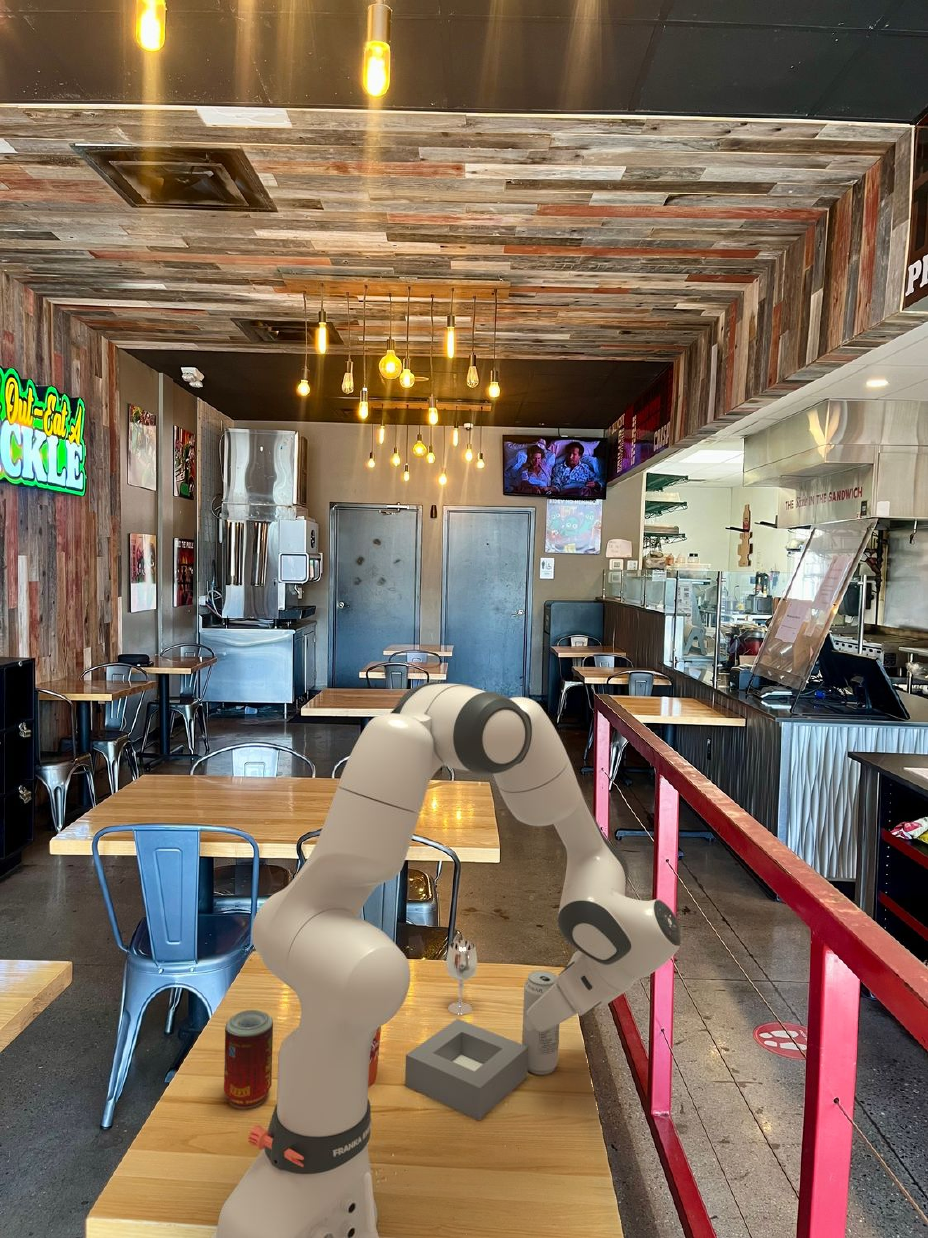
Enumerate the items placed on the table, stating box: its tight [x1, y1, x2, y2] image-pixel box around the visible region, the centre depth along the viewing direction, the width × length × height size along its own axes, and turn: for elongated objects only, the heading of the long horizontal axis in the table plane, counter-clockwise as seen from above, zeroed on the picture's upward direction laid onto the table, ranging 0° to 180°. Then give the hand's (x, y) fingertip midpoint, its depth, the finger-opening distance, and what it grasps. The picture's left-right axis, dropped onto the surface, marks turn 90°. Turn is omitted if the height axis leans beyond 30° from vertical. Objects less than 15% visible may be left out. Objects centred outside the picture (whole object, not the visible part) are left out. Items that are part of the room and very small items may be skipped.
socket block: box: [404, 1018, 528, 1121], centre depth 134 cm, size 14×14×5 cm
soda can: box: [223, 1009, 274, 1109], centre depth 128 cm, size 7×7×12 cm
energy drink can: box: [521, 969, 560, 1076], centre depth 139 cm, size 6×6×15 cm
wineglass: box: [445, 939, 478, 1016], centre depth 157 cm, size 6×6×12 cm
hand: (542, 1013), depth 139 cm, fingers open, 8 cm apart
